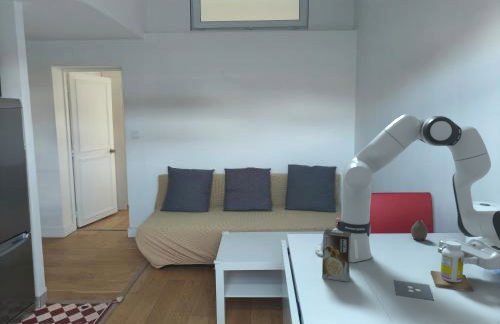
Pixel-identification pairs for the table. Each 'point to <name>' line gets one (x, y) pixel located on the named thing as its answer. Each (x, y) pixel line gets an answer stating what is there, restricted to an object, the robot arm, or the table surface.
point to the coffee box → (336, 255)
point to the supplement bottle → (452, 262)
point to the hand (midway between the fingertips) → (450, 255)
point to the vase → (419, 231)
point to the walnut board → (443, 283)
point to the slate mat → (413, 290)
